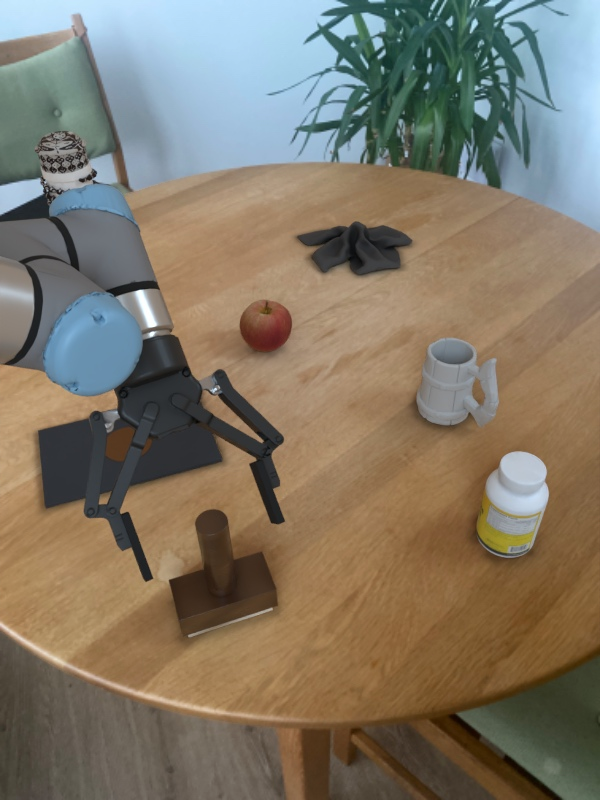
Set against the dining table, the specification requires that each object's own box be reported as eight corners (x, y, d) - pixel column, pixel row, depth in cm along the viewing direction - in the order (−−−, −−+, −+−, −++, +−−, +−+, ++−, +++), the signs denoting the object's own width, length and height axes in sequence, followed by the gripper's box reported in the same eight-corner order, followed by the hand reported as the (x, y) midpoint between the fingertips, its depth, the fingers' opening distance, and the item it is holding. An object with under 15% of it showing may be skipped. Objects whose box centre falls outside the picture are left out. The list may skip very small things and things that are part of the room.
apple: (288, 327, 109) (287, 284, 104) (296, 357, 103) (294, 313, 98) (239, 332, 108) (235, 289, 103) (244, 362, 102) (239, 319, 97)
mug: (439, 383, 97) (449, 313, 90) (507, 424, 91) (525, 353, 83) (403, 407, 94) (411, 336, 86) (471, 452, 87) (486, 380, 79)
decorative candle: (108, 257, 128) (77, 121, 111) (127, 278, 122) (96, 138, 105) (61, 271, 124) (21, 133, 108) (77, 293, 118) (37, 151, 102)
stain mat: (46, 508, 81) (44, 504, 81) (39, 433, 91) (37, 429, 91) (222, 461, 87) (221, 457, 86) (197, 395, 97) (197, 391, 96)
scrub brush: (184, 642, 68) (162, 559, 59) (174, 601, 71) (152, 516, 62) (278, 611, 70) (271, 526, 61) (264, 573, 74) (255, 487, 65)
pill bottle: (505, 506, 80) (525, 436, 72) (545, 545, 76) (570, 475, 68) (462, 528, 78) (477, 458, 70) (501, 570, 73) (521, 500, 66)
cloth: (414, 231, 133) (417, 201, 129) (405, 280, 119) (408, 248, 115) (303, 223, 136) (303, 194, 132) (282, 269, 123) (281, 238, 119)
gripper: (246, 317, 73) (314, 500, 73) (11, 391, 65) (87, 598, 65) (265, 299, 66) (340, 501, 66) (3, 379, 58) (89, 611, 58)
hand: (215, 550), depth 65 cm, fingers open, 13 cm apart
